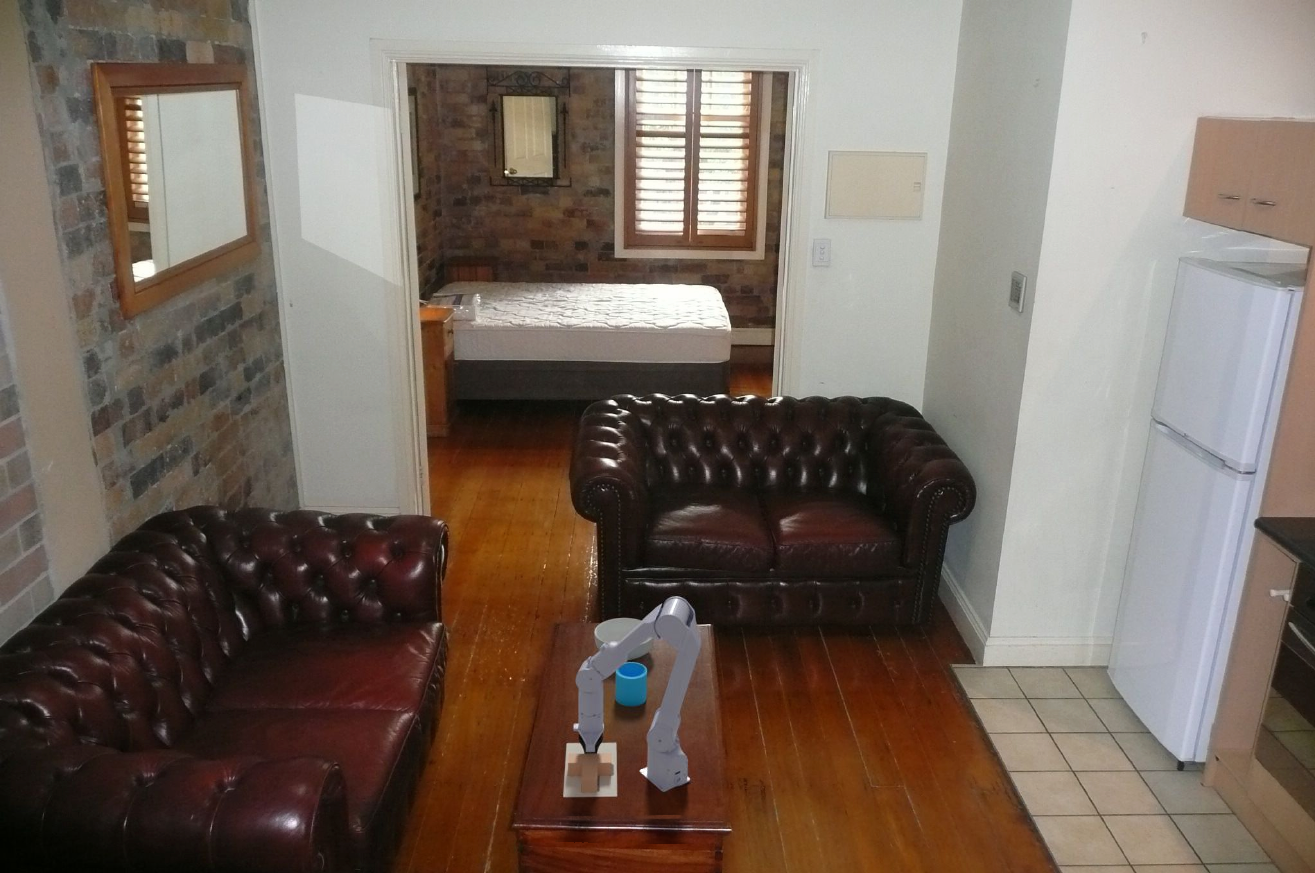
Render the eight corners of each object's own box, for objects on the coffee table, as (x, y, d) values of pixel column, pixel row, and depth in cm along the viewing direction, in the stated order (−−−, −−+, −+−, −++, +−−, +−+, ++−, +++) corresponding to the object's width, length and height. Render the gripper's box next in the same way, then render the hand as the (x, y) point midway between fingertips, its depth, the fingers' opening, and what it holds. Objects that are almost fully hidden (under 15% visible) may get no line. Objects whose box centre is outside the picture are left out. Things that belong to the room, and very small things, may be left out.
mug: (643, 707, 263) (644, 680, 261) (612, 704, 264) (613, 677, 262) (650, 683, 274) (651, 656, 272) (621, 680, 275) (621, 653, 273)
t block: (568, 766, 238) (568, 753, 237) (611, 765, 239) (611, 753, 238) (567, 792, 229) (566, 779, 228) (611, 792, 230) (611, 779, 229)
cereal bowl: (665, 649, 291) (665, 627, 289) (633, 675, 278) (633, 652, 275) (616, 632, 300) (616, 611, 297) (582, 657, 286) (582, 634, 284)
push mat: (566, 745, 247) (566, 743, 247) (616, 744, 248) (616, 742, 248) (563, 799, 228) (563, 796, 228) (617, 798, 229) (617, 796, 229)
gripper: (574, 692, 242) (574, 741, 246) (572, 728, 228) (572, 779, 233) (604, 691, 242) (603, 740, 247) (604, 727, 229) (603, 778, 233)
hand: (590, 759), depth 240 cm, fingers closed
